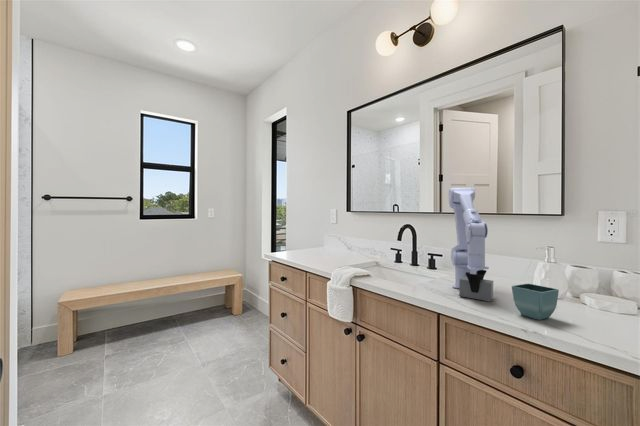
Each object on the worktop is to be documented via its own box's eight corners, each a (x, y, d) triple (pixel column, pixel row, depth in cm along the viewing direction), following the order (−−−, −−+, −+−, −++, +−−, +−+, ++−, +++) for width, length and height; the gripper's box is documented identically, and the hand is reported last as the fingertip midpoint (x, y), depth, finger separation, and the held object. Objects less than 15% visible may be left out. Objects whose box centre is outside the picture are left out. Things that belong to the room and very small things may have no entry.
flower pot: (510, 314, 88) (510, 285, 89) (528, 310, 92) (528, 282, 92) (541, 323, 80) (541, 292, 80) (559, 319, 84) (559, 289, 84)
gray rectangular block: (462, 292, 112) (462, 276, 112) (493, 297, 106) (493, 280, 106) (459, 295, 107) (459, 279, 107) (491, 301, 101) (491, 283, 101)
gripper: (485, 257, 98) (485, 296, 98) (490, 253, 110) (490, 288, 110) (463, 255, 103) (463, 293, 102) (470, 251, 114) (470, 285, 114)
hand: (476, 290), depth 106 cm, fingers closed on gray rectangular block, 6 cm apart
